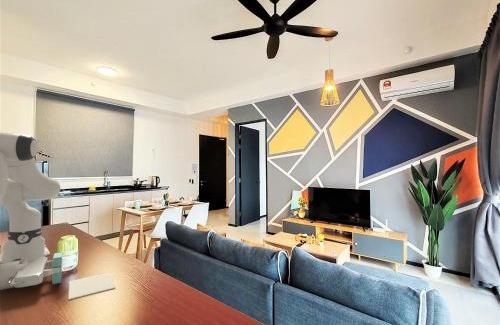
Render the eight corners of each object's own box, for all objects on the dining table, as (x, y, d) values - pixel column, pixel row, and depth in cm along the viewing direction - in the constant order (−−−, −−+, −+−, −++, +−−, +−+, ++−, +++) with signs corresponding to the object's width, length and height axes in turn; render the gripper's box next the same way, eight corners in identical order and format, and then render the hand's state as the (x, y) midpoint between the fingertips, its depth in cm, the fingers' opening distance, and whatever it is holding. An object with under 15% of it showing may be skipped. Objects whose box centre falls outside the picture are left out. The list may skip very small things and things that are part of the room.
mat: (69, 282, 93) (69, 281, 93) (110, 273, 101) (110, 272, 101) (68, 300, 81) (68, 298, 81) (115, 288, 89) (115, 287, 89)
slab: (52, 278, 96) (53, 253, 96) (61, 276, 97) (62, 252, 98) (51, 284, 91) (52, 258, 91) (60, 282, 93) (61, 256, 93)
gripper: (5, 277, 78) (59, 267, 87) (17, 257, 95) (61, 250, 103) (4, 296, 78) (58, 284, 87) (17, 272, 95) (61, 264, 103)
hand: (60, 265), depth 95 cm, fingers closed on slab, 6 cm apart
